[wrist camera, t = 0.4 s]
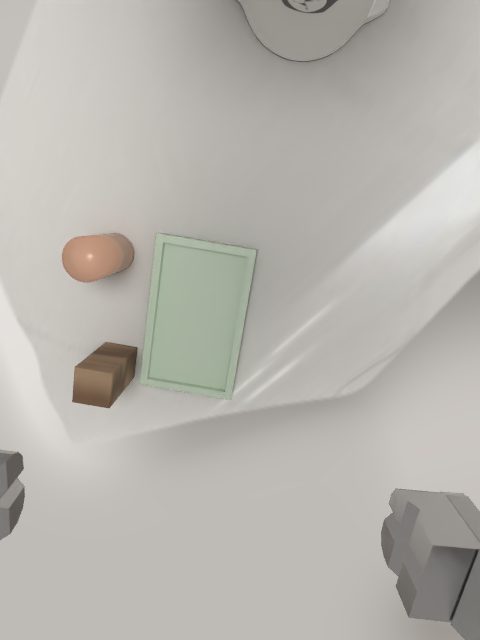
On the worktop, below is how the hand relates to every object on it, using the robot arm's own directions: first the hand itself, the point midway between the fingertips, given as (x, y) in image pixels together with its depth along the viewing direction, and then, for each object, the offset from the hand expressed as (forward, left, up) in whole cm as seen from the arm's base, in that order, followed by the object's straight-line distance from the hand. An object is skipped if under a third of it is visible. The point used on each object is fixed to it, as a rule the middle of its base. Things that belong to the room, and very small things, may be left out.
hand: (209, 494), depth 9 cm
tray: (+8, -6, -47) cm, 48 cm away
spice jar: (+1, -18, -47) cm, 50 cm away
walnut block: (+16, -16, -47) cm, 52 cm away
